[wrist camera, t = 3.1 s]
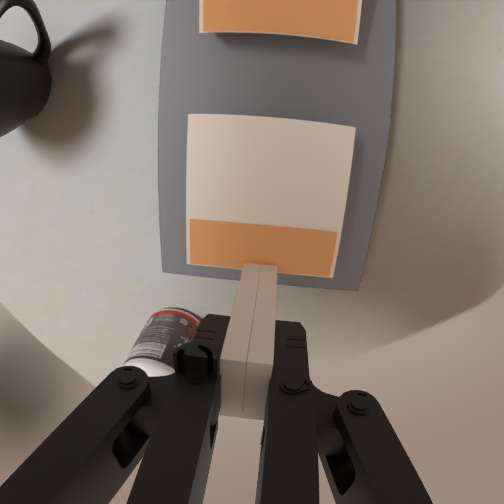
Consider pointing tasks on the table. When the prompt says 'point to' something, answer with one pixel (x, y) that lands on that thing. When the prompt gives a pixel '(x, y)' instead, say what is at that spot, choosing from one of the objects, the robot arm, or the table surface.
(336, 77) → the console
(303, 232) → the switch
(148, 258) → the table surface
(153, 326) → the pill bottle
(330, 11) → the switch
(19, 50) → the mug
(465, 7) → the table surface
